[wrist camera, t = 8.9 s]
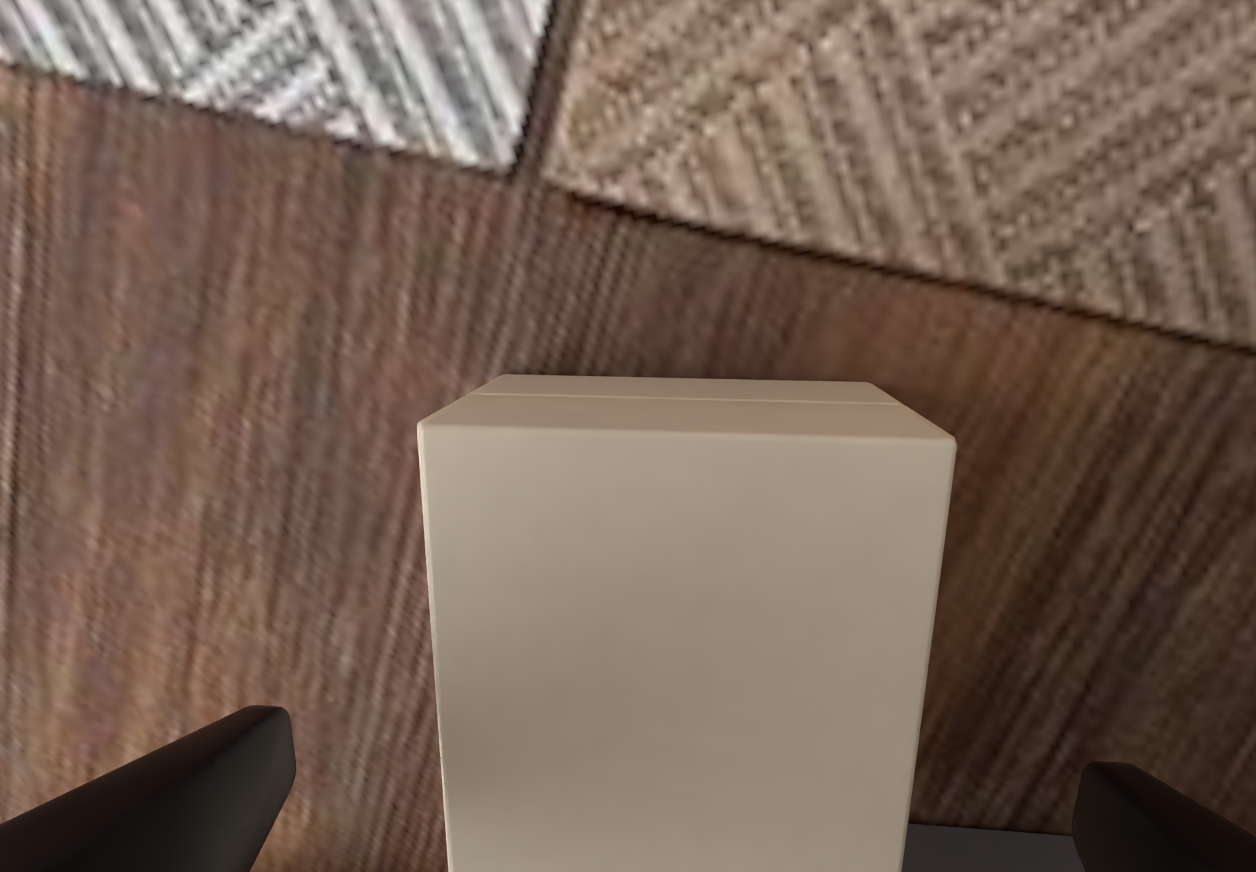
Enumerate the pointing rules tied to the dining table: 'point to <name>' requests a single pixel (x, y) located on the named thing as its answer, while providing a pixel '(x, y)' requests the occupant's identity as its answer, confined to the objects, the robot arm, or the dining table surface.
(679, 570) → the beige flat block
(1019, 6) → the dining table surface
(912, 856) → the grey stack
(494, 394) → the beige rectangular block
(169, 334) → the dining table surface
